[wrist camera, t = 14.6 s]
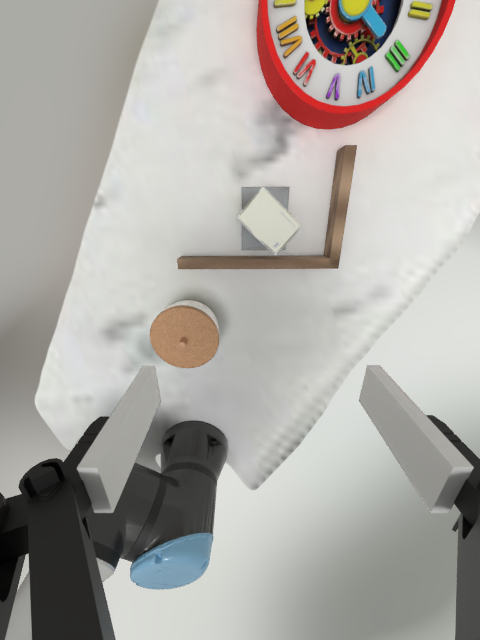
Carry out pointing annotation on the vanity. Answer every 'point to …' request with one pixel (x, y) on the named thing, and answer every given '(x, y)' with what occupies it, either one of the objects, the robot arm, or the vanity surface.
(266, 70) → the toy clock
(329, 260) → the walnut l-shaped corner bracket
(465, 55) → the vanity surface
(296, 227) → the skincare box
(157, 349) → the lidded jar
